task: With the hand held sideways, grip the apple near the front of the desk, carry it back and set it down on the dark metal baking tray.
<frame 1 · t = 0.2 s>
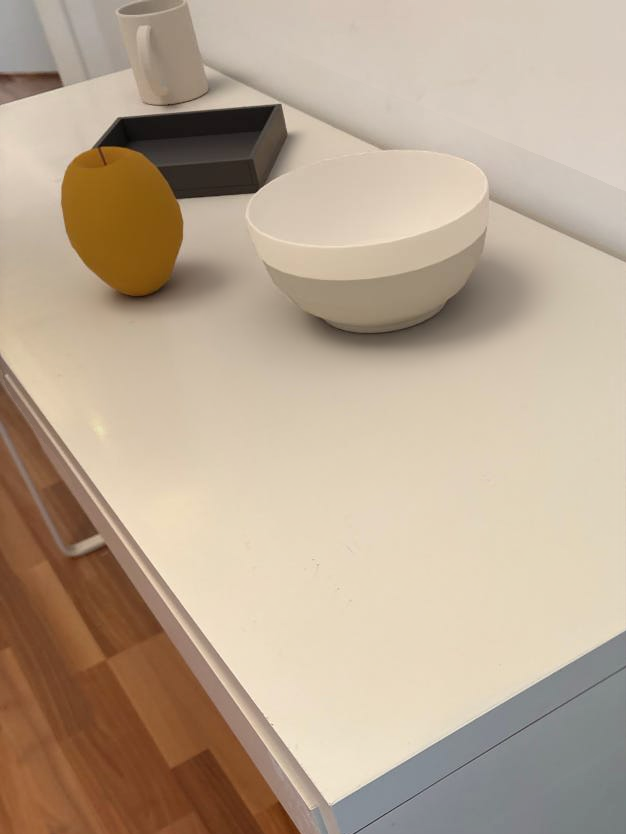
bowl: (384, 303, 81), on the table
tray: (189, 168, 108), on the table
mug: (171, 98, 127), on the table
apple: (147, 288, 87), on the table
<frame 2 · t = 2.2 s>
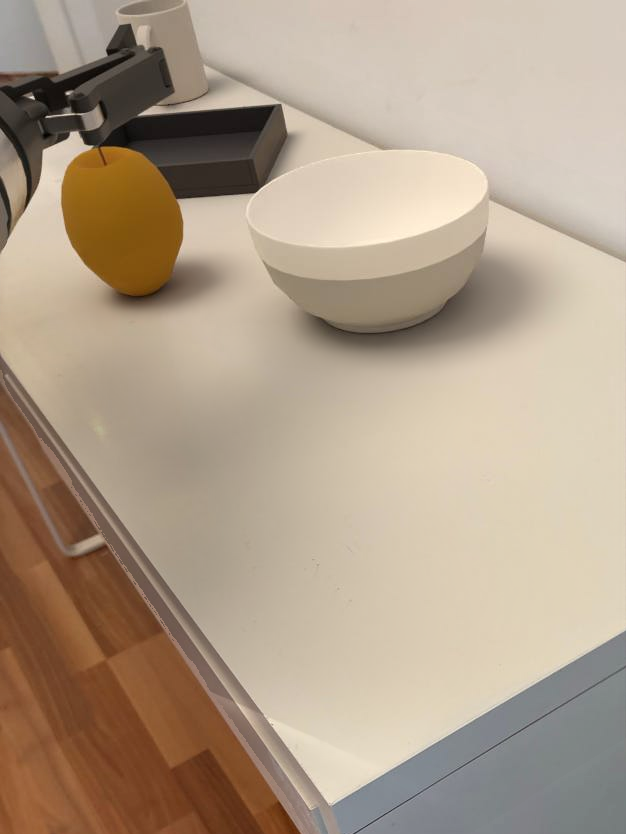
hand: (32, 61, 66), 20 cm above the table, tool horizontal, fingers open, 13 cm apart
nothing on the table moved.
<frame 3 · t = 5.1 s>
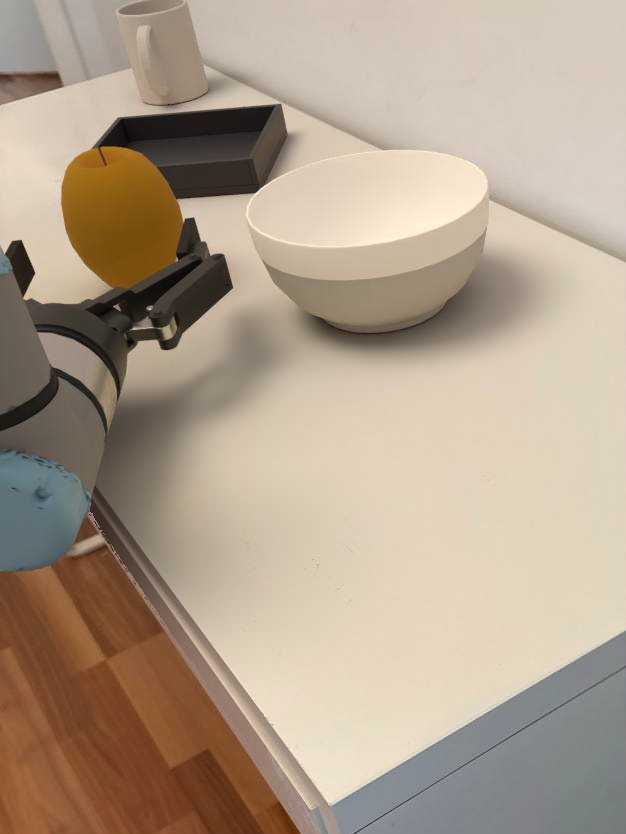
hand: (109, 245, 78), 7 cm above the table, tool horizontal, fingers open, 13 cm apart
nothing on the table moved.
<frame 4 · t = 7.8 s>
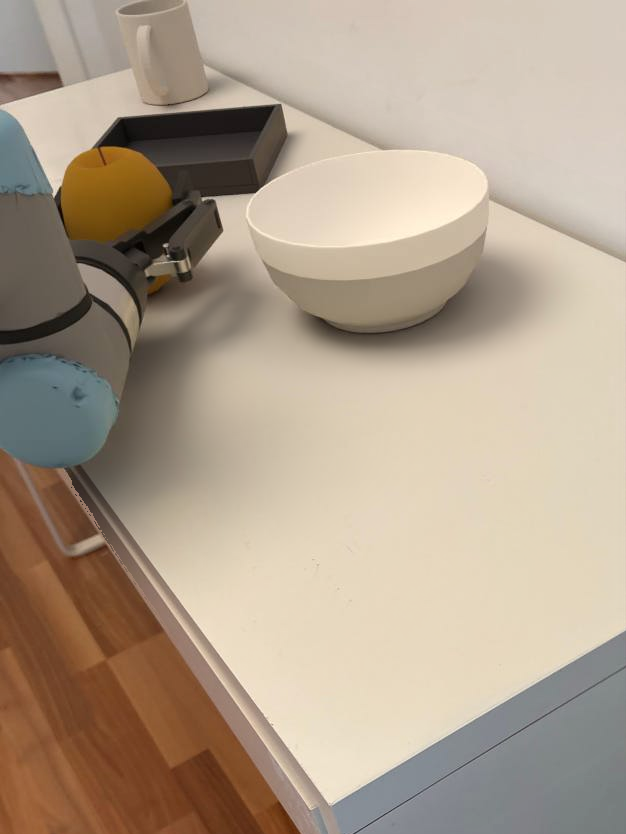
hand: (129, 193, 86), 6 cm above the table, tool horizontal, fingers closed on apple, 10 cm apart
apple: (147, 288, 87), on the table, touching gripper
everything else where it was.
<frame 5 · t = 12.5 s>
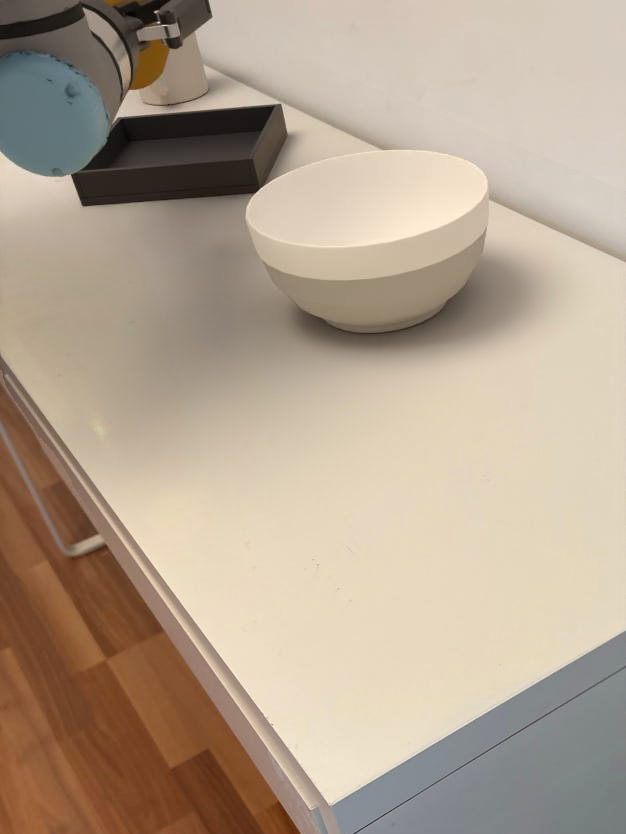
apple: (141, 86, 92), point 11 cm above the table, touching gripper
everything else where it was.
when the fingers open (7 cm above the table, at t = 17.4 s): apple stays where it is, resting on tray.
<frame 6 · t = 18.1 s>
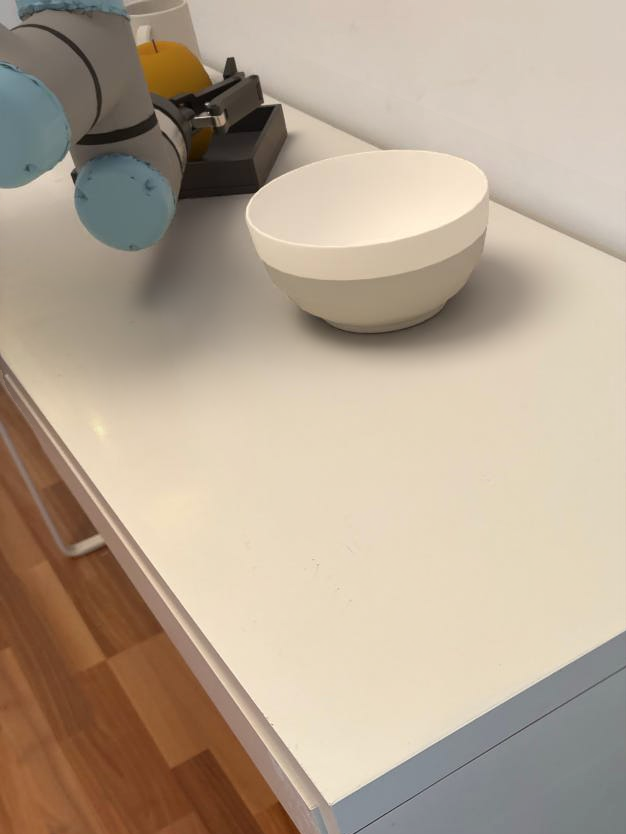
hand: (170, 79, 104), 8 cm above the table, tool horizontal, fingers open, 13 cm apart
apple: (188, 162, 107), point 1 cm above the table, touching tray
everything else where it was.
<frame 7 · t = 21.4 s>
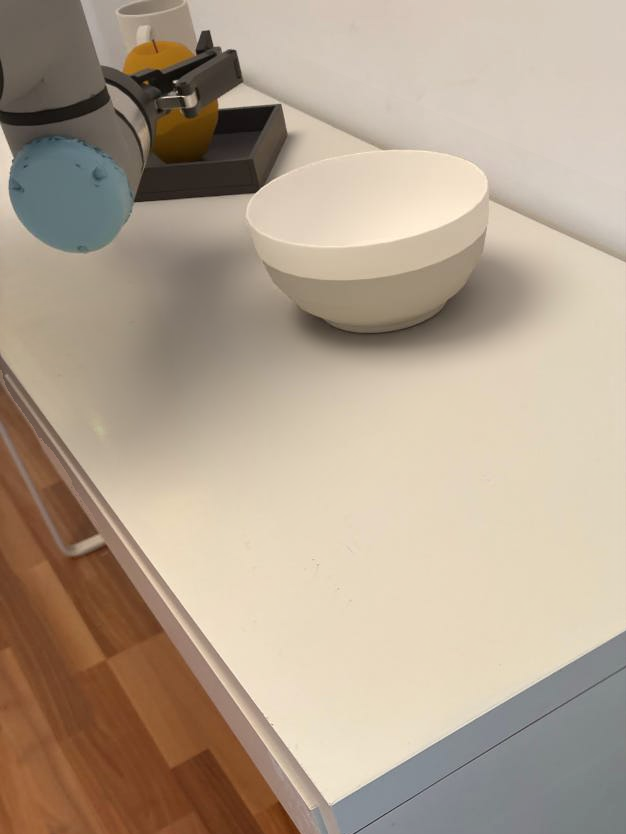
hand: (137, 55, 91), 13 cm above the table, tool horizontal, fingers open, 13 cm apart
nothing on the table moved.
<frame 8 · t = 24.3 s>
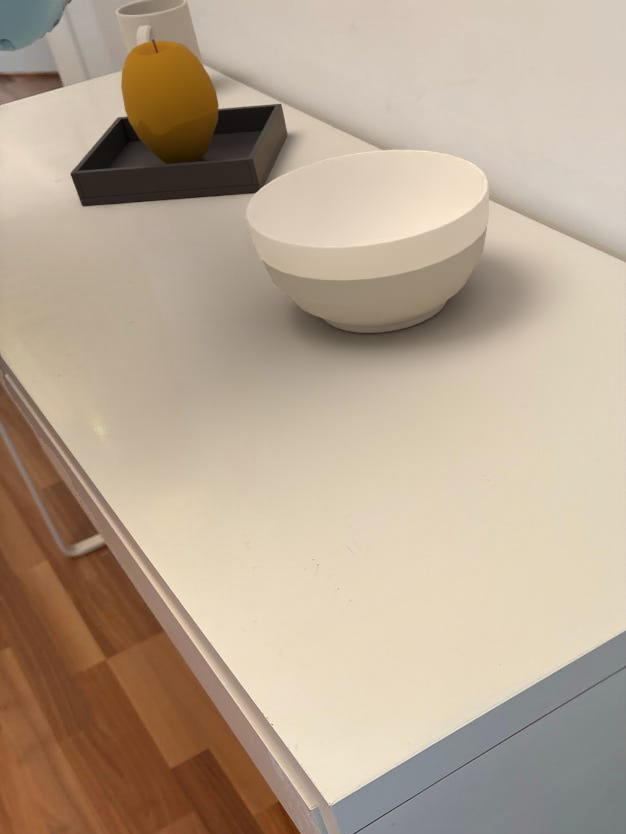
nothing on the table moved.
at the end: apple inside the target area in the tray (0.0 cm from its centre), point 0.6 cm above the tray's base; the gripper is holding nothing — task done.
